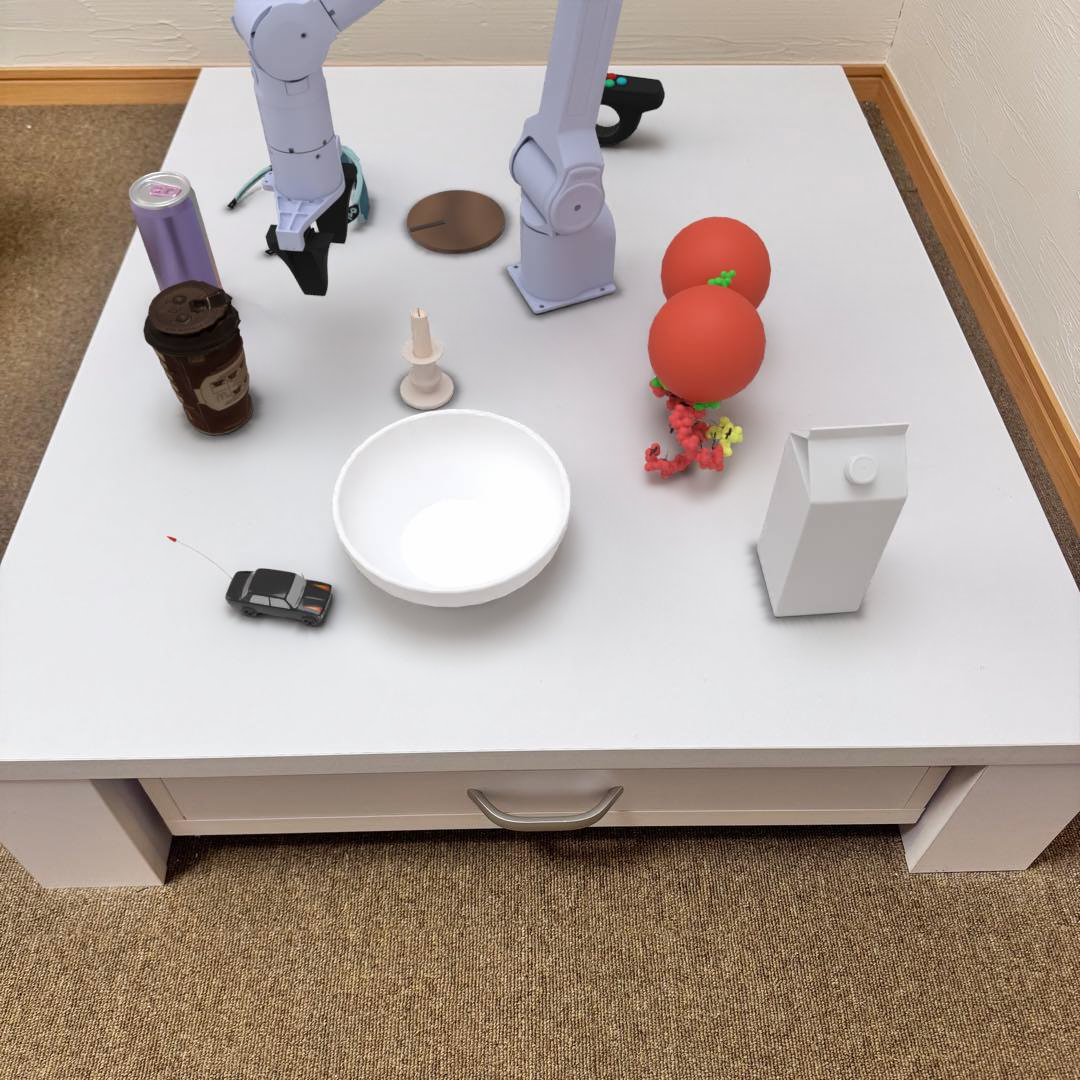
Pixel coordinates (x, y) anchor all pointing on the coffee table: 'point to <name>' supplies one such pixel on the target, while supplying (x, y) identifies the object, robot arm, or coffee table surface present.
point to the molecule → (707, 334)
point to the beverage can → (172, 229)
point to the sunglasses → (361, 194)
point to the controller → (628, 104)
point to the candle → (424, 368)
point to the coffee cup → (202, 354)
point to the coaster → (455, 221)
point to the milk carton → (832, 516)
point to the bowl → (452, 507)
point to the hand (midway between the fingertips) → (325, 266)
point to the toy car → (278, 594)
